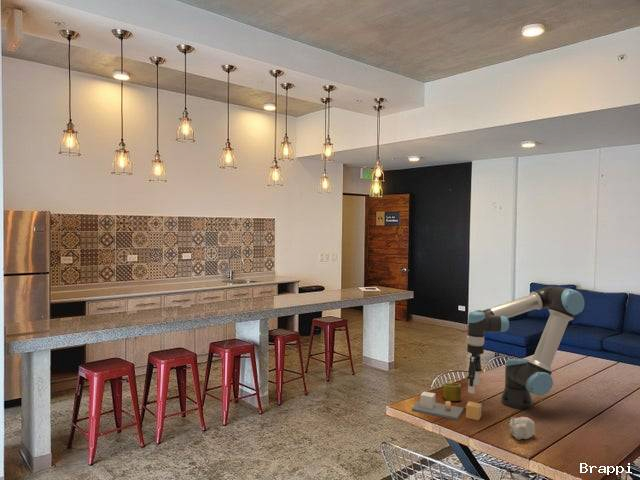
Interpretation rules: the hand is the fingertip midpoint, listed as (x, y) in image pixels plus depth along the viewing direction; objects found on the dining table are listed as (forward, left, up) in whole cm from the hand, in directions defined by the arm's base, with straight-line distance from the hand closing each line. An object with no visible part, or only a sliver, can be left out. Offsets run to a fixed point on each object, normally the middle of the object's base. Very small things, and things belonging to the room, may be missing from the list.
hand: (474, 388), depth 228 cm
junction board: (+17, +1, -14) cm, 22 cm away
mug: (+15, -20, -14) cm, 29 cm away
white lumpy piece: (-22, +11, -14) cm, 28 cm away
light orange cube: (0, 0, -14) cm, 14 cm away
